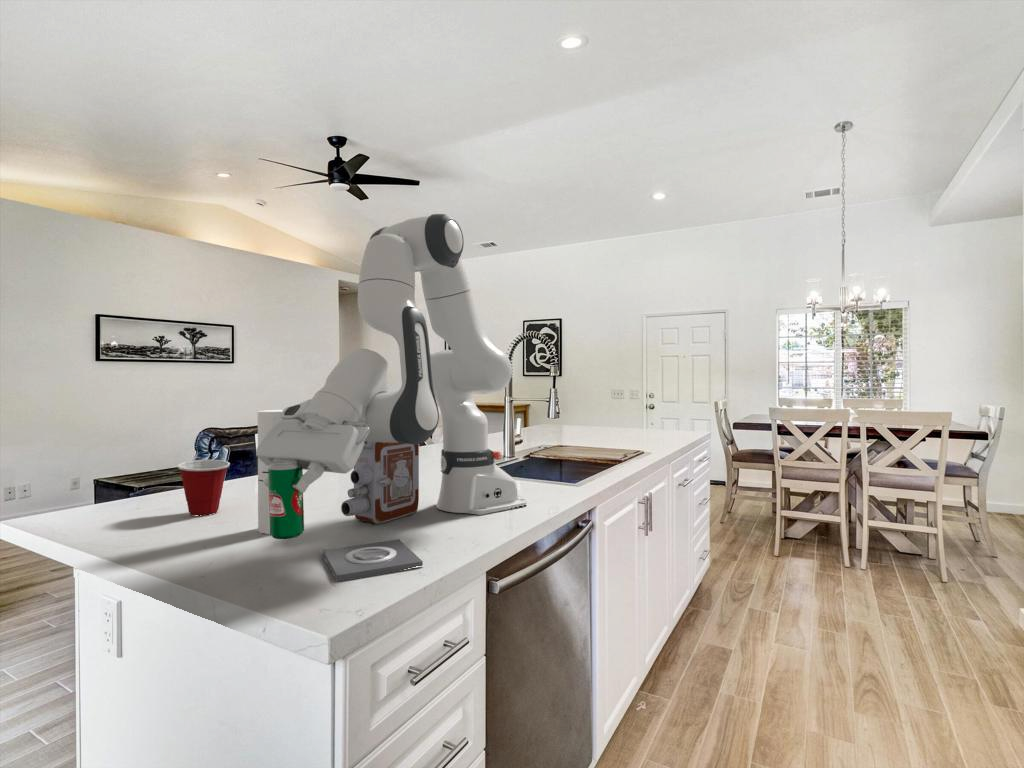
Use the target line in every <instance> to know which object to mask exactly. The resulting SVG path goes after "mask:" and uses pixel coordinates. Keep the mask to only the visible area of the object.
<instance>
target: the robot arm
mask: <svg viewBox="0 0 1024 768" xmlns="http://www.w3.org/2000/svg"><path fill="white" fill-rule="evenodd" d="M463 251H464V234H463V232H462V228H461V226H460V225H459V223H458V221H456V220H455V218H453V217H452V216H451V215H449V214H445V213H434V214H430V215H427V216H418V217H413V218H408V219H405V220H404V221H401V222H397V223H394V224H392V225H390V226H384V227H381V228H379V229H377V230H376V231H374V232H373V233H372V234H371V236H370V237H369V240H368V242H367V244H366V246H365V250H364V252H363V256H362V260H361V264H360V269H359V270H360V271H359V277H358V287H357V288H358V289H357V290H358V291H357V308H358V313H359V315H360V316H361V319H362V320H364V322H365V323H366V324H367V325H368V326H369V327H370V328H372V329H374V330H376V331H377V332H381V333H384V334H386V335H389V336H391V337H392V338H394V340H395V341H396V343H397V345H398V351H399V364H400V365H399V366H400V375H401V386H400V388H399V390H397V391H391V389H390V385H389V383H388V375H387V372H388V368H389V367H388V366H389V364H388V361H387V359H386V358H385V357H384V356H382V355H381V354H379V352H376V351H374V350H371V349H368V348H357V349H356V348H355V349H353V350H349V352H348V353H346V354H345V355H344V356H343V357H342V358H341V359H340V360H339V362H337V364H336V365H335V366H334V368H333V369H332V370H331V372H330V373H329V374H328V375H327V377H326V380H325V383H324V385H323V387H321V388H320V389H319V390H318V391H316V392H315V394H314V396H313V397H312V398H309V399H307V400H305V401H303V402H301V403H298V404H295V405H291V406H287V407H286V408H284V409H282V410H283V411H282V413H281V414H280V417H281V418H282V419H283V420H280V421H278V422H277V423H276V424H274V425H273V427H272V428H271V429H270V430H269V432H268V433H267V434H266V436H265V437H264V438H263V440H262V441H261V443H260V444H259V446H258V445H257V448H256V454H255V455H256V457H257V459H258V458H259V459H260V460H261V461H262V462H263V463H265V464H266V465H267V466H271V462H272V461H276V460H284V459H291V460H297V461H298V460H300V464H301V465H302V467H303V470H304V471H306V472H304V474H303V475H302V476H301V478H299V477H297V478H296V479H295V481H294V483H293V484H292V488H293V489H294V490H295V491H296V492H302V493H303V494H304V493H305V492H306V491H307V490H308V488H309V486H310V485H311V484H313V483H314V482H316V481H317V480H318V479H319V478H321V477H322V475H323V474H324V472H326V473H327V472H328V473H334V474H345V475H346V474H348V473H349V472H350V471H353V470H354V466H355V464H356V462H357V460H358V458H359V456H360V454H361V451H362V449H363V446H364V443H365V442H382V443H396V442H399V443H405V444H414V445H418V444H419V445H422V444H424V443H426V442H427V441H428V440H429V439H430V438H431V436H432V435H433V434H434V433H435V431H436V429H437V427H438V424H439V419H440V415H441V421H442V449H441V451H440V452H441V455H440V469H441V473H442V475H441V483H440V489H439V494H438V495H439V496H438V499H437V502H436V505H435V507H436V509H438V510H440V511H443V512H448V513H455V514H456V513H458V514H470V515H486V514H491V513H495V512H496V513H497V512H501V511H507V510H512V509H516V508H515V507H517V508H520V507H519V506H522V507H525V506H524V505H526V504H527V500H526V498H525V497H523V496H520V495H519V493H518V487H517V482H516V481H515V479H514V478H513V477H512V475H510V474H509V473H507V472H506V471H505V470H504V469H502V468H501V467H499V466H498V465H497V464H496V463H495V460H497V461H499V460H501V459H502V457H503V454H502V453H501V451H497V450H494V451H493V450H491V449H490V448H489V447H488V446H489V443H488V442H489V441H488V440H489V437H488V436H489V431H488V429H489V427H488V426H489V424H488V423H489V421H488V417H487V415H486V414H485V413H484V412H483V411H482V410H480V409H479V408H478V406H477V405H476V403H475V400H474V397H473V394H476V395H477V394H478V395H481V394H482V395H487V394H491V393H497V392H501V391H503V390H504V389H506V388H507V387H508V385H509V384H510V382H511V379H512V376H513V375H512V374H513V368H512V367H513V366H512V363H511V360H510V358H509V356H508V354H506V353H505V352H504V351H502V350H500V349H499V348H498V347H496V346H495V345H494V344H493V343H492V341H491V339H489V337H488V336H487V335H486V332H485V331H484V329H483V328H482V325H481V323H480V321H479V318H478V315H477V311H476V308H475V307H476V306H475V304H474V300H473V296H472V291H471V287H470V283H469V280H468V279H469V278H468V275H467V272H466V269H465V267H464V264H463V262H462V259H461V256H462V253H463ZM417 272H419V273H420V281H421V286H422V292H423V297H424V302H425V305H426V309H427V313H428V318H429V322H430V327H431V329H432V331H433V332H434V333H435V335H437V336H439V337H440V338H441V339H443V340H444V341H445V342H446V344H447V345H448V347H449V348H450V349H443V350H439V351H437V352H433V353H431V352H430V351H431V350H430V341H429V332H428V326H427V325H428V324H427V322H426V318H425V316H424V314H423V313H422V312H421V311H420V310H419V309H418V308H417V304H416V298H415V295H416V294H415V290H416V288H415V287H416V275H415V274H416V273H417ZM439 412H440V413H439ZM264 485H266V486H267V487H268V488H269V478H268V477H267V478H266V480H265V481H264ZM526 506H527V505H526ZM511 508H512V509H511Z"/></svg>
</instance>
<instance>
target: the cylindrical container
mask: <svg viewBox="0 0 1024 768" xmlns="http://www.w3.org/2000/svg"><path fill="white" fill-rule="evenodd" d="M283 410H284V409H265V410H258V411H257V447H258V446H259V444H260V443H261V441H262V440H263V438H264V437H265V436H266V434H267V433H268V432H269V430H270V429H271V428H272V427H273V425H274V424H276V423H277V422H278V421H280V420H283V419H282V418H281V417H280V414H281V413H282V411H283ZM269 467H270V466H267V465H266V464H265V463H263V462H262V461H261V460H260V459H259V458H258V457H257V519H258V520H257V522H258V523H257V525H258V526H257V528H258V530H257V531H259V532H261V533H260V534H262V533H265V534H264V535H270V514H269V488H268V487H267V486H266V485H264V481H265V480H266V478H267V477H268V469H269ZM259 532H258V533H259Z"/></svg>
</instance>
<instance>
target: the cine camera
mask: <svg viewBox="0 0 1024 768" xmlns="http://www.w3.org/2000/svg"><path fill="white" fill-rule="evenodd" d="M419 445H420V444H418V445H414V444H405V443H399V442H396V443H382V442H365V443H364V446H363V449H362V451H361V454H360V456H359V458H358V460H357V462H356V464H355V466H354V467H353V469H352V470H351V473H350V481H351V482H352V484H353V488H349V489H348V490H347V497H348V499H346V500H344V501H343V502H342V503H341V506H340V509H341V513H342V514H343V516H346V517H351V516H352V517H355V520H358V521H361V522H366V523H371V524H374V525H375V524H376V525H379V524H383V523H386V522H387V523H388V522H390V521H394V520H397V519H400V518H404V517H406V516H410V515H413V514H415V513H416V512H417V511H418V508H419V500H420V499H419V498H420V496H419V495H420V493H419V492H420V491H419V489H420V486H419V485H420V481H419V480H420V475H419V474H420V472H419V471H420V467H419V465H420V464H419V463H420V455H419V453H420V451H419V450H420V448H419V447H420V446H419Z"/></svg>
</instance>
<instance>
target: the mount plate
mask: <svg viewBox="0 0 1024 768" xmlns="http://www.w3.org/2000/svg"><path fill="white" fill-rule="evenodd" d="M322 557H323V558H324V560H325V562H326V564H327V565H328V567H329V569H331V570H330V572H331V573H332V574H333V577H334V578H335V581H336V582H337V581H338V582H343V580H344V581H349V579H350V580H355V578H356V579H361V578H360V577H362V578H365V576H368V577H372V576H371V575H374V576H378V575H377V574H380V575H384V574H383V573H385V574H389V573H388V572H391V573H394V572H393V571H397V572H401V571H400V570H403V571H405V570H404V569H408V568H412V567H416V566H422V565H423V563H424V562H423V560H422V559H421V558H420V557H419V556H417V554H415V553H414V552H413V550H412V549H411V548H409V547H408V546H407V545H406V544H405V543H404V542H403V541H402V540H401V539H391V540H384V541H383V540H382V541H378V542H377V541H376V542H370V543H363V544H354V545H351V546H350V545H348V546H342V547H335V548H329V549H323V550H322Z"/></svg>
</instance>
